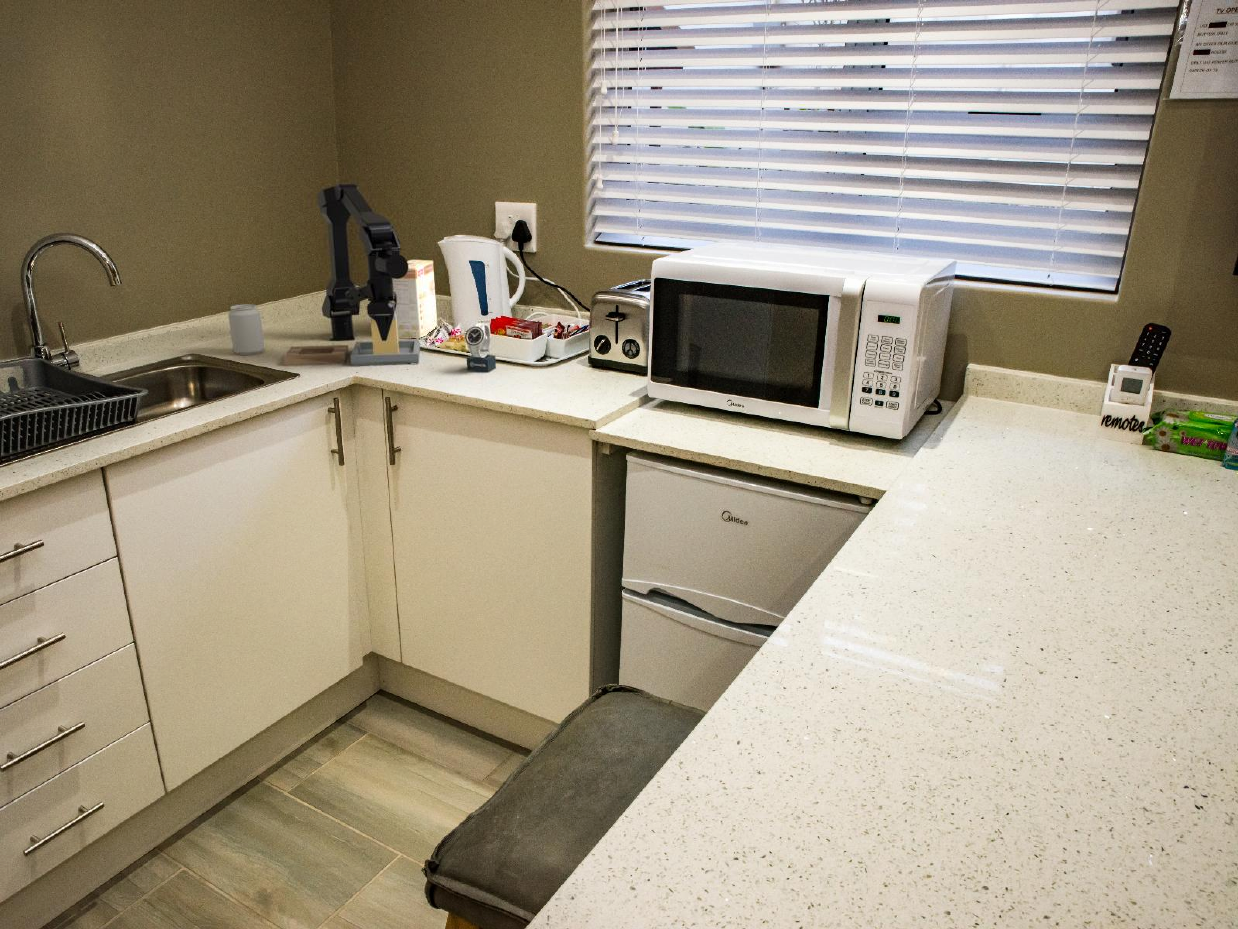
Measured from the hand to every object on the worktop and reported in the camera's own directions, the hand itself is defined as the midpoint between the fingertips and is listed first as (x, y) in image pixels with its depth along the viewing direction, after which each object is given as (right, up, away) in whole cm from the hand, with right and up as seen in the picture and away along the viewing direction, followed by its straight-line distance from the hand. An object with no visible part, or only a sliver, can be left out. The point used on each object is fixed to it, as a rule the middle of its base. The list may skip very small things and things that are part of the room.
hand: (385, 336), depth 232 cm
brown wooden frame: (-17, -6, 0) cm, 18 cm away
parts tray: (0, -5, +2) cm, 5 cm away
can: (-36, -3, +6) cm, 37 cm away
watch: (+25, -9, -9) cm, 29 cm away
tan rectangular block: (0, -4, +2) cm, 4 cm away
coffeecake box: (+2, +5, +29) cm, 29 cm away
